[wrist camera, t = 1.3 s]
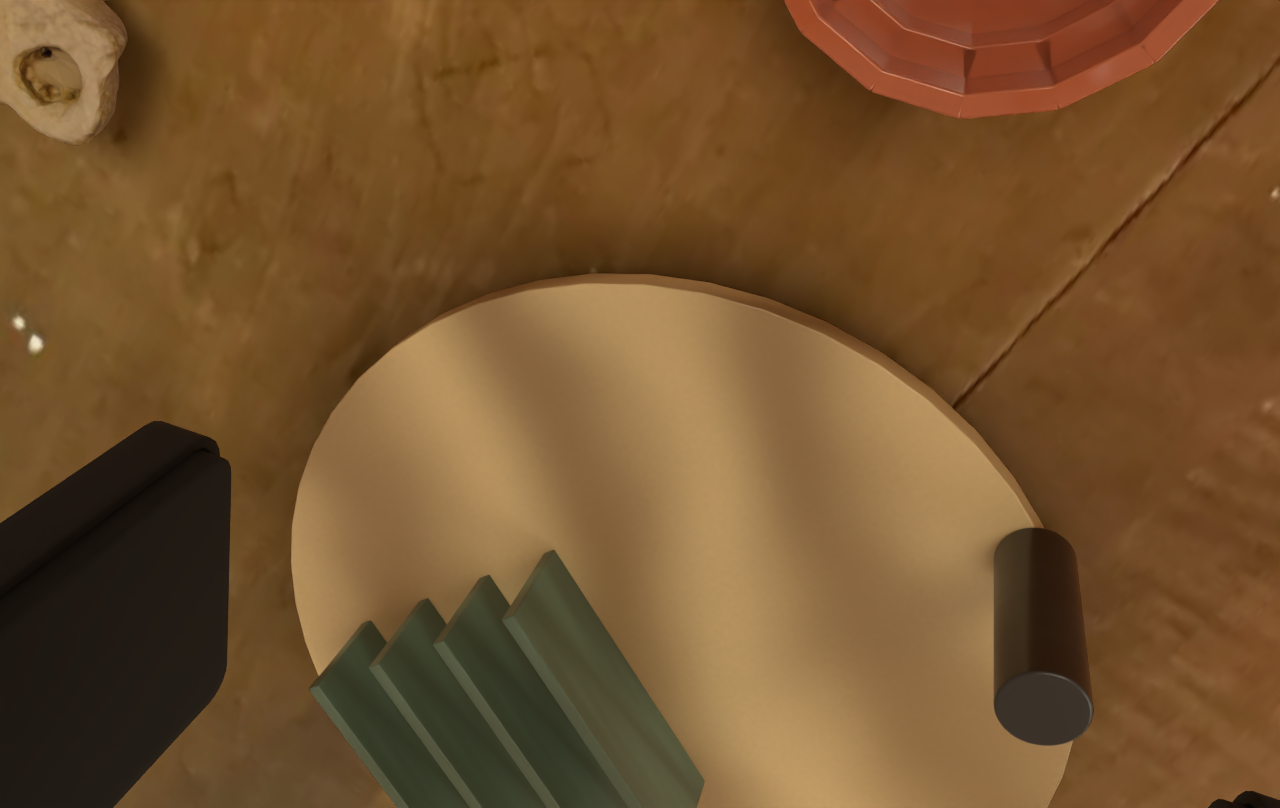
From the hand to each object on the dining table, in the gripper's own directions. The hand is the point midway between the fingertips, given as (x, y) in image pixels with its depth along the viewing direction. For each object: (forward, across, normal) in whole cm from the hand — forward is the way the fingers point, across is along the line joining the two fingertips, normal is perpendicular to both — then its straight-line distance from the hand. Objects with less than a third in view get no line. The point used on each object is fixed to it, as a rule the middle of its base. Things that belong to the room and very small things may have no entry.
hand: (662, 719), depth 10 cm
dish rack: (+24, +2, +20) cm, 31 cm away
